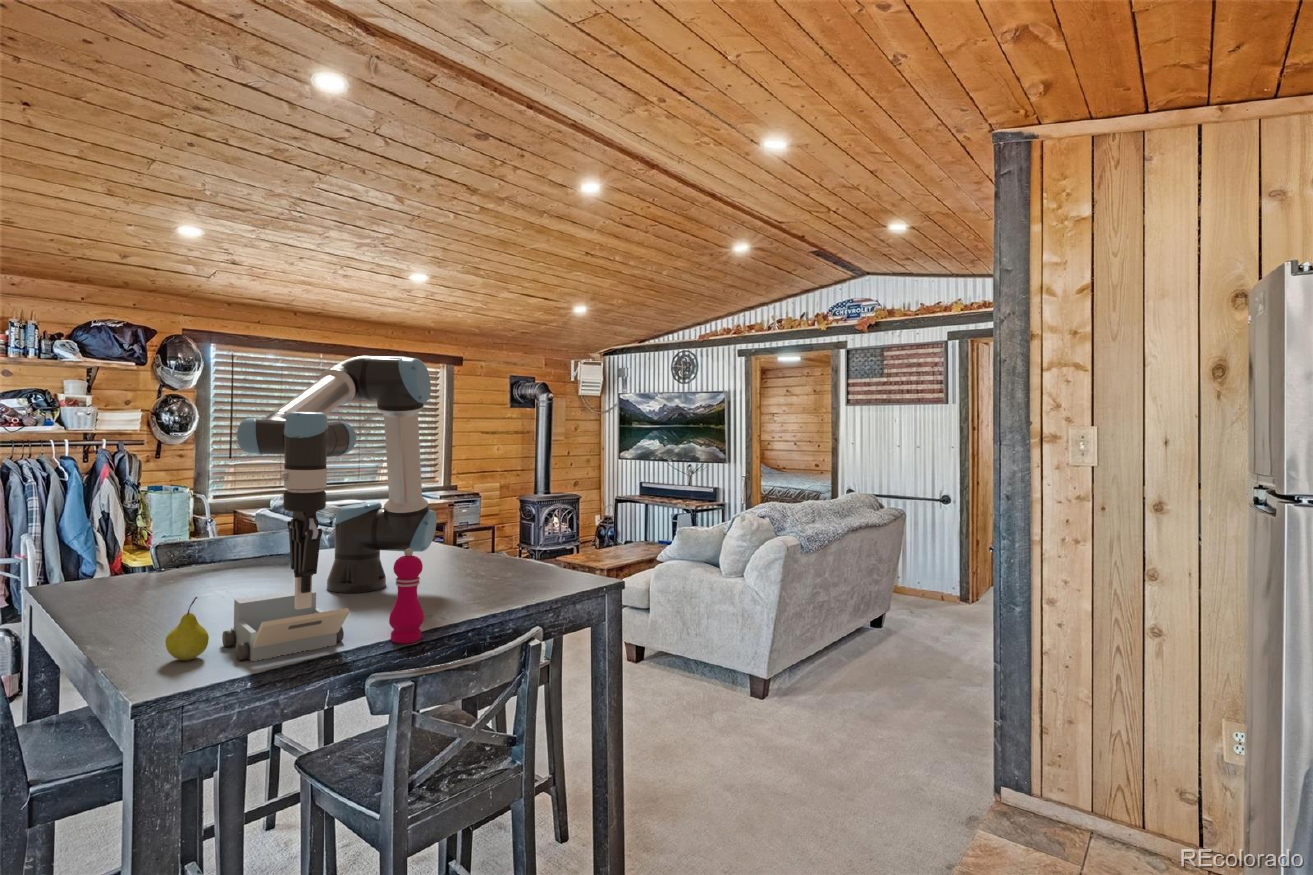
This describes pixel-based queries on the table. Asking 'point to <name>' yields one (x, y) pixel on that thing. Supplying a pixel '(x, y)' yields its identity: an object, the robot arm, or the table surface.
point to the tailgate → (299, 627)
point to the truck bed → (280, 647)
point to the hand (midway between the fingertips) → (303, 607)
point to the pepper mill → (407, 600)
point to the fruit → (187, 638)
